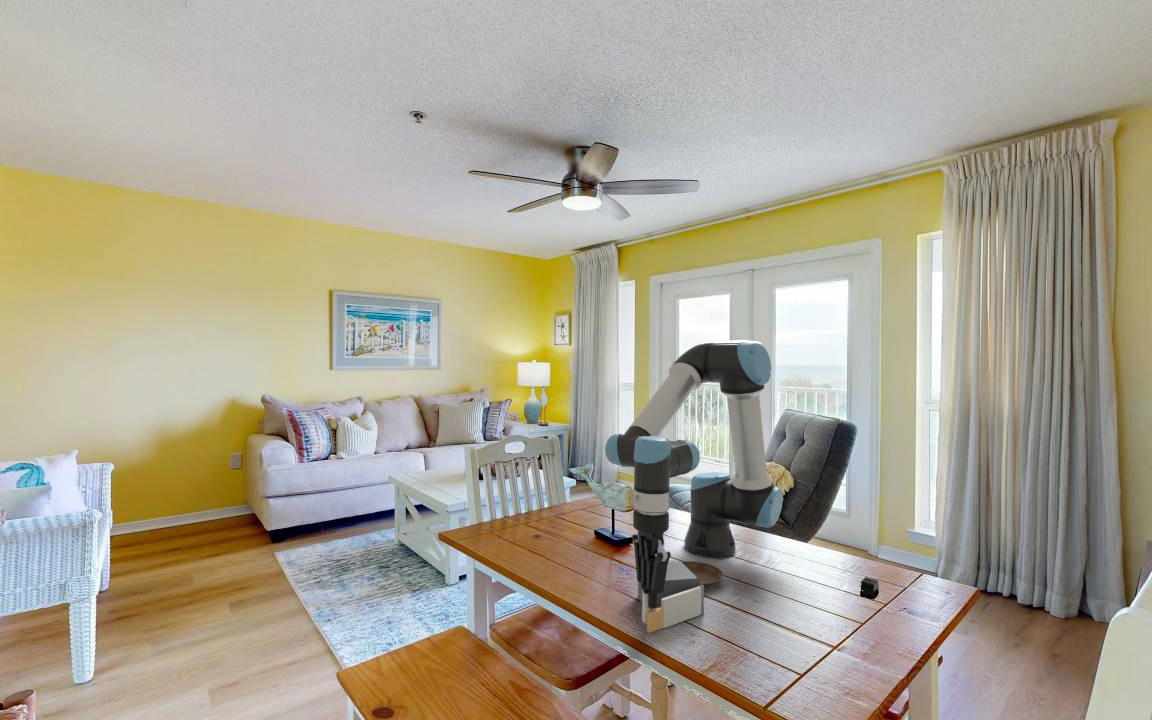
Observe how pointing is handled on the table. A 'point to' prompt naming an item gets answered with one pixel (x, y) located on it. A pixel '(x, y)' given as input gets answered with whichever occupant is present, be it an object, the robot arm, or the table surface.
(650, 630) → the light grey flat piece
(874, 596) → the black block
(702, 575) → the saucer
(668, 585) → the grey box with knob
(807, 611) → the table surface
